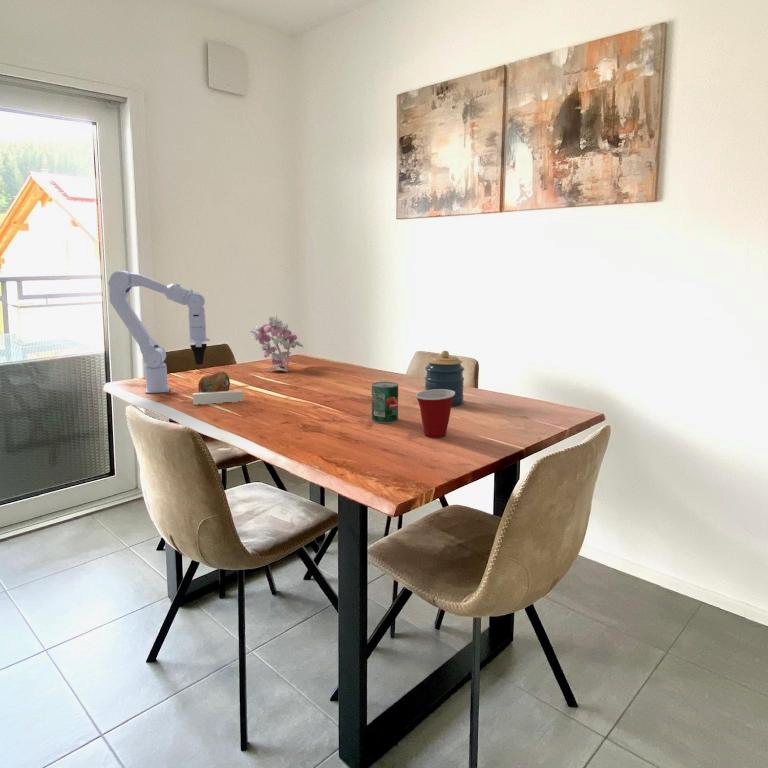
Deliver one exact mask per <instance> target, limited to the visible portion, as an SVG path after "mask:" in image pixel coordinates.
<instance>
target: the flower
mask: <svg viewBox="0 0 768 768" xmlns="http://www.w3.org/2000/svg"><path fill="white" fill-rule="evenodd" d="M278 318H279V316H277V315H276V316H270V317H269V318H268V322H266V324H265V323H264V324H261V325H260V326H259V325H257V324H255V325H253V328H252V329H251V330H249V333H251V339H254V341H258V343H259V344H260V345H262V346H261V347H260V349H261V351H263V352H264V353H263V357H264V358H268V357H271V359H270V364H271V365H272V366H270V367H268V369H267V371H266V372H268V371H270V370H278V371H280V372H286V373H289V371H288V366H289V363H290V354H291V355H292V354H293V353H292V352H290V349H291V348H292V349H295V348H296V347H297V346H298V347H301V348H304V345H303V344H301V343H300V342H299V341H298V335H296V333H294V332H292V331H291V330H290V329H289V324H288V322H287V323H286V324H285V323H283V321H282V320H280V319H278ZM269 333H270V335H269ZM270 341H273V344H274V346H271V343H270ZM279 343H280V346H282V347H283V349H284V350H283V351H281V348H280V347H279ZM285 350H286V351H285ZM276 351H278V353H276ZM270 355H271V356H270ZM282 367H283V368H282Z"/></svg>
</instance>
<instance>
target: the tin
mask: <svg viewBox="0 0 768 768" xmlns="http://www.w3.org/2000/svg"><path fill="white" fill-rule="evenodd" d="M230 381H231V380H230V377H229V374H227V372H225V371H222V372H221V371H219V372H218V371H217V372H214V373H211V374H208V375H205V376H204V375H203V376H202V377H201V378H200V380H199V381H198V385H197V386H198V389H197V390H198V393H206V392H223V391H230V387H231V386H230V385H231V382H230Z"/></svg>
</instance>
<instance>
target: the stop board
mask: <svg viewBox="0 0 768 768" xmlns="http://www.w3.org/2000/svg"><path fill="white" fill-rule="evenodd" d="M192 401H193V402H192V403H193V406H198V404H201V405H212V403H216V404H224V403H223V402H232V403H237V402H236V401H243V402H244V391H243V390H240V389H239V390H229V391H223V392H206V393H199V392H194V393H192Z"/></svg>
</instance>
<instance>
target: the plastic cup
mask: <svg viewBox="0 0 768 768" xmlns="http://www.w3.org/2000/svg"><path fill="white" fill-rule="evenodd" d="M454 395H455V392H454V391H452V390H447V389H433V390H425V389H424V390H421V391H418V392H416V393H415V395H414V397H415V398H416V399H417V402H418V405H419V410H420V417H421V422H422V426H423V427H422V428H423V433H424V436H426V437H428V438H433V439H435V438H437V439H439V438H444V437H445V436H446V434H447V430H448V425H449V423H450V422H449V420H450V415H451V410H452V406H451V405H452V401H453V397H454Z"/></svg>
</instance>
